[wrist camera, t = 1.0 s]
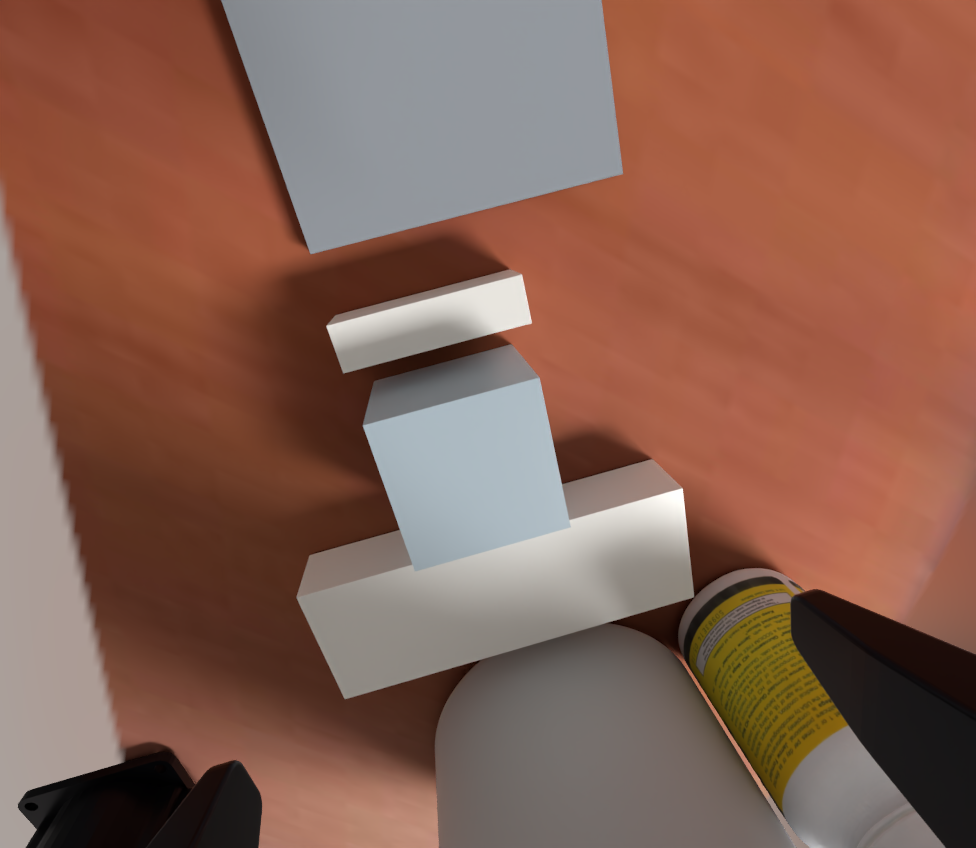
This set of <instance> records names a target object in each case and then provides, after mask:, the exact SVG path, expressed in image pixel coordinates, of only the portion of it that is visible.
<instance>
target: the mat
mask: <svg viewBox="0 0 976 848" xmlns="http://www.w3.org/2000/svg"><path fill="white" fill-rule="evenodd" d="M221 1H222V4H223V7H224V10H225V12H226V15H227V18H228V21H229V24H230V27H231V30H232V32H233V35H234V38H235V41H236V44H237V47H238V49H239V52H240V55H241V58H242V61H243V64H244V67H245V69H246V72H247V75H248V78H249V81H250V84H251V86H252V89H253V92H254V95H255V98H256V101H257V104H258V106H259V109H260V112H261V115H262V118H263V121H264V123H265V126H266V129H267V132H268V135H269V138H270V141H271V143H272V146H273V149H274V152H275V155H276V158H277V160H278V163H279V166H280V169H281V172H282V175H283V178H284V180H285V183H286V186H287V189H288V192H289V195H290V197H291V200H292V203H293V206H294V209H295V212H296V215H297V217H298V220H299V223H300V226H301V229H302V232H303V234H304V237H305V240H306V243H307V246H308V249H309V252H310V254H314V253H317V252H321V251H325V250H329V249H333V248H337V247H341V246H345V245H349V244H352V243H356V242H360V241H364V240H368V239H372V238H376V237H380V236H384V235H387V234H391V233H395V232H399V231H403V230H407V229H411V228H415V227H418V226H422V225H426V224H430V223H434V222H438V221H442V220H446V219H450V218H453V217H457V216H461V215H465V214H469V213H473V212H477V211H481V210H485V209H488V208H492V207H496V206H500V205H504V204H508V203H512V202H516V201H519V200H523V199H527V198H531V197H535V196H539V195H543V194H547V193H551V192H554V191H558V190H562V189H566V188H570V187H574V186H578V185H582V184H586V183H589V182H593V181H597V180H601V179H605V178H609V177H613V176H617V175H620V174H623V170H622V162H621V154H620V146H619V138H618V130H617V122H616V114H615V106H614V98H613V90H612V81H611V73H610V65H609V57H608V49H607V41H606V33H605V25H604V17H603V9H602V1H601V0H221Z"/></svg>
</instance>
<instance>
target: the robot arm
mask: <svg viewBox="0 0 976 848" xmlns="http://www.w3.org/2000/svg"><path fill="white" fill-rule="evenodd" d="M790 616H791V636H792V640H793V642H794V644H795V646H796V648H797V650H798V651H799V653H800V654H801V656H802V657H803V659H804V660H805V662H806V663H807V665H808V666H809V668H810V669H811V671H812V672H813V674H814V675H815V677H816V678H817V679H818V681H819V682H820V684H821V685H822V687H823V688H824V690H825V691H826V693H827V694H828V696H829V697H830V699H831V700H832V702H833V703H834V705H835V706H836V708H837V709H838V711H839V712H840V714H841V715H842V717H843V718H844V720H845V721H846V722H847V724H848V725H849V727H850V728H851V730H852V731H853V733H854V734H855V735H856V737H857V738H858V740H859V741H860V742H861V744H862V745H863V746H864V747H865V749H866V750H867V751H868V753H869V754H870V755H871V756H872V758H873V759H874V760H875V761H876V763H877V764H878V765H879V766H880V768H881V769H882V770H883V771H884V773H885V774H886V775H887V776H888V777H889V779H890V780H891V781H892V782H893V784H894V785H895V786H896V787H897V789H898V790H899V791H900V792H901V793H902V795H903V796H904V797H905V798H906V800H907V801H908V802H909V803H910V805H911V806H912V807H913V808H914V809H915V811H916V812H917V813H918V814H919V816H920V817H921V818H922V819H923V821H924V822H925V823H926V824H927V825H928V827H929V828H930V829H931V830H932V832H933V833H934V834H935V835H936V837H937V838H938V839H939V840H940V841H941V843H942V844H943V845H944V846H945V848H976V654H973V653H971V652H969V651H966V650H964V649H961V648H959V647H957V646H954V645H952V644H949V643H947V642H944V641H942V640H940V639H937V638H935V637H933V636H930V635H927V634H925V633H923V632H921V631H918V630H916V629H913V628H911V627H909V626H906V625H904V624H901V623H899V622H897V621H894V620H892V619H889V618H887V617H885V616H882V615H880V614H877V613H875V612H873V611H870V610H868V609H865V608H863V607H861V606H858V605H856V604H853V603H851V602H849V601H846V600H844V599H841V598H839V597H837V596H834V595H832V594H829V593H827V592H825V591H822V590H818V589H813V590H809V591H806V592H802V593H799V594H795V595H794V596H793V597H792V598H791V601H790ZM18 808H19V810H20V811H21V812H22V813H23V814H24V816H25V817H26V818H27V819H28V820H29V821H30V822H31V823H32V824H33V825H34V827H35V828H36V829H37V831H36V832H35V834H34V835H33V837H32V838H31V840H30V842H29V843H28V845H27V847H26V848H258V846H259V835H260V825H261V815H262V800H261V795H260V792H259V790H258V789H257V787H256V785H255V784H254V782H253V780H252V779H251V777H250V776H249V774H248V772H247V771H246V769H245V768H244V766H243V764H242V763H241V762H239V761H237V760H233V761H229V762H226V763H223V764H219V765H216V766H213V767H211V768H210V769H209V770H207V771H206V773H205V774H204V775H203V776H202V777H201V779H200V780H199V781H198V782H197V784H196V785H195V784H194V783H193V781H192V780H191V778H190V777H189V775H188V774H187V772H186V771H185V770H184V768H183V767H182V765H181V764H180V762H179V761H178V759H177V758H176V757H175V756H174V755H173V754H171V753H169V752H159V753H155V754H152V755H148V756H145V757H141V758H138V759H135V760H131V761H128V762H124V763H121V764H117V765H114V766H111V767H108V768H104V769H100V770H97V771H94V772H90V773H87V774H83V775H80V776H76V777H73V778H70V779H66V780H63V781H60V782H56V783H52V784H49V785H46V786H42V787H39V788H35V789H32V790H30V791H27V792H26V794H25V795H24V796H23V798H22V799H21V801H20V802H19V804H18Z"/></svg>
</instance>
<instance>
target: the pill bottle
mask: <svg viewBox="0 0 976 848" xmlns="http://www.w3.org/2000/svg"><path fill="white" fill-rule="evenodd" d="M802 592H805V591H804V590H803V589H802V588H801V587H800V586H799V585H797V584H796V583H795V582H794V581H793V580H791V579H790V578H788V577H787V576H785V575H783V574H781V573H779V572H777V571H773V570H770V569H763V568H748V569H741V570H737V571H733V572H731V573H728V574H726V575H724V576H722V577H720V578H718V579H716V580H715V581H713V582H712V583H710V584H709V585H707V586H706V587H705V588H704V589H702V590H701V591H700V592H699V593H698V594H697V595H696V596H695V598H694V599H693V600H692V601H691V603H690V604H689V605H688V607H687V609H686V610H685V612H684V614H683V616H682V619H681V622H680V625H679V630H678V642H679V647H680V650H681V653H682V655H683V657H684V659H685V661H686V663H687V665H688V667H689V668H690V670H691V671H692V673H693V675H694V676H695V678H696V679H697V681H698V682H699V684H700V686H701V687H702V689H703V690H704V692H705V693H706V695H707V697H708V699H709V700H710V702H711V703H712V705H713V706H714V708H715V709H716V711H717V712H718V714H719V716H720V717H721V719H722V721H723V722H724V724H725V725H726V727H727V728H728V730H729V732H730V734H731V735H732V737H733V738H734V740H735V741H736V743H737V744H738V746H739V747H740V749H741V750H742V752H743V754H744V755H745V757H746V758H747V760H748V762H749V763H750V764H751V766H752V768H753V770H754V771H755V772H756V774H757V775H758V777H759V778H760V780H761V782H762V784H763V786H764V787H765V788H766V790H767V791H768V793H769V795H770V796H771V798H772V799H773V801H774V802H775V804H776V806H777V807H778V809H779V810H780V812H781V813H782V815H783V816H784V817H785V819H786V821H787V822H788V824H789V825H790V827H791V828H792V829H793V831H794V832H795V833H796V835H797V836H798V837H799V838H800V839H801V840H802V841H803V842H804V843H805V844H806V845H808V846H809V847H810V848H945V846H944V845H943V844H942V843H941V841H940V840H939V839H938V838H937V837H936V835H935V834H934V833H933V832H932V830H931V829H930V828H929V827H928V825H927V824H926V823H925V822H924V821H923V819H922V818H921V817H920V816H919V814H918V813H917V812H916V811H915V809H914V808H913V807H912V806H911V805H910V803H909V802H908V801H907V800H906V798H905V797H904V796H903V795H902V793H901V792H900V791H899V790H898V789H897V787H896V786H895V785H894V784H893V782H892V781H891V780H890V779H889V777H888V776H887V775H886V774H885V773H884V771H883V770H882V769H881V768H880V766H879V765H878V764H877V763H876V761H875V760H874V759H873V758H872V756H871V755H870V754H869V753H868V751H867V750H866V749H865V747H864V746H863V745H862V744H861V742H860V741H859V740H858V738H857V737H856V735H855V734H854V733H853V731H852V730H851V728H850V727H849V725H848V724H847V722H846V721H845V720H844V718H843V717H842V715H841V714H840V712H839V711H838V709H837V708H836V706H835V705H834V703H833V702H832V700H831V699H830V697H829V696H828V694H827V693H826V691H825V690H824V688H823V687H822V685H821V684H820V682H819V681H818V679H817V678H816V677H815V675H814V674H813V672H812V671H811V669H810V668H809V666H808V665H807V663H806V662H805V660H804V659H803V657H802V656H801V654H800V653H799V651H798V650H797V648H796V646H795V644H794V642H793V640H792V636H791V616H790V601H791V598H792V597H793V596H794V595H795V594H799V593H802Z"/></svg>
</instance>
